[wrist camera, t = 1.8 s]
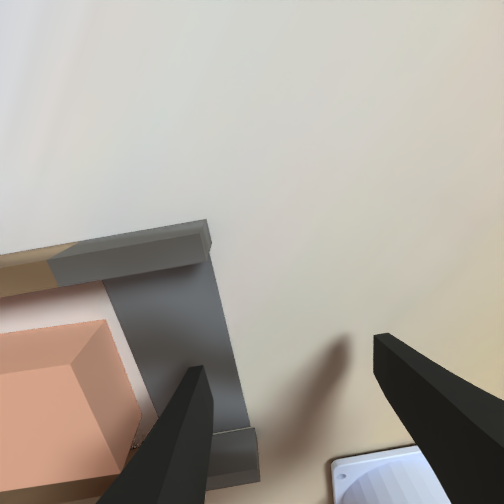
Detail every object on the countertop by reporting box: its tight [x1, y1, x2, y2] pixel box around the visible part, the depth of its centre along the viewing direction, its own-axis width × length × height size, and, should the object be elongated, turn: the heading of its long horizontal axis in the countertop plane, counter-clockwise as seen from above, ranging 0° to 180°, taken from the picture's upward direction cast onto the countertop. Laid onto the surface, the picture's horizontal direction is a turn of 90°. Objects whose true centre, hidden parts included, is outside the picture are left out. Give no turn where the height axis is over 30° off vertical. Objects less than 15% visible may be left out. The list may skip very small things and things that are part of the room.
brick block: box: [0, 319, 142, 492], centre depth 11 cm, size 6×7×3 cm
